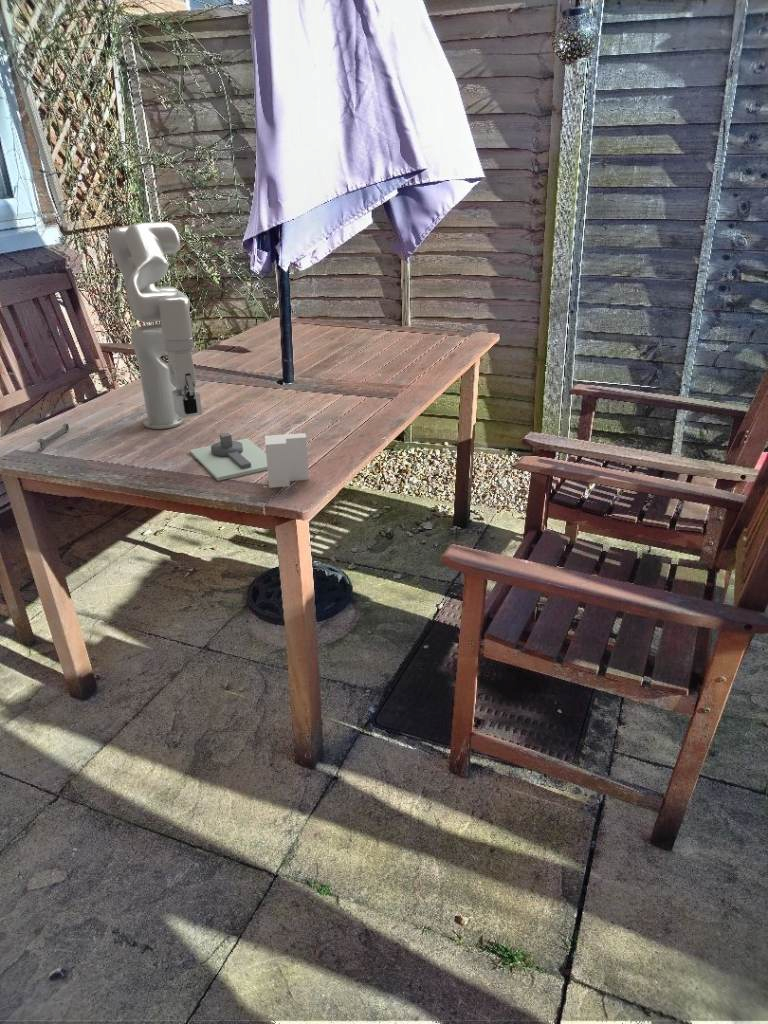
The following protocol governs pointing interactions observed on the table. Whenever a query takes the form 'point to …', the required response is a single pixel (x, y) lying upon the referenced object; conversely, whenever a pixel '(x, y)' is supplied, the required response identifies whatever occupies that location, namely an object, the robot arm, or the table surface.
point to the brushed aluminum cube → (179, 403)
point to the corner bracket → (286, 459)
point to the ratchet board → (231, 458)
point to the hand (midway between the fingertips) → (188, 409)
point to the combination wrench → (52, 437)
